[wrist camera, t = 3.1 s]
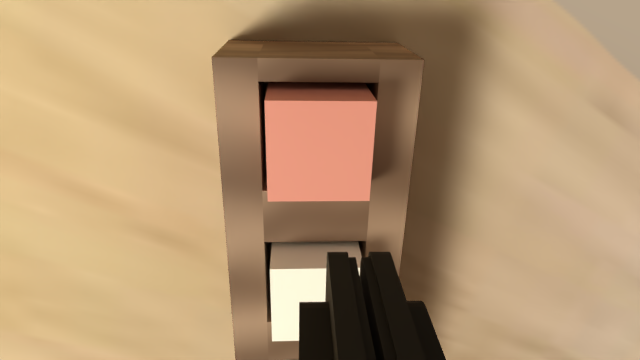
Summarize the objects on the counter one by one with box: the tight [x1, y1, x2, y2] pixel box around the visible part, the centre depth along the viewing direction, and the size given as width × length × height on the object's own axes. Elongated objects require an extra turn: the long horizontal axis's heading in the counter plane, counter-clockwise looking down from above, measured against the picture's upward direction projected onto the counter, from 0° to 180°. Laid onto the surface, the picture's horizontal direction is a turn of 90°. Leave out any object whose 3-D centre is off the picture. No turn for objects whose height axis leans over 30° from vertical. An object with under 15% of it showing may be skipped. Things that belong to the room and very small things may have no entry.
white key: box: [270, 241, 362, 341], centre depth 26 cm, size 5×5×4 cm
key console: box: [212, 40, 424, 360], centre depth 29 cm, size 26×10×6 cm, turn 179°
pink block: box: [264, 82, 377, 202], centre depth 22 cm, size 5×5×4 cm
